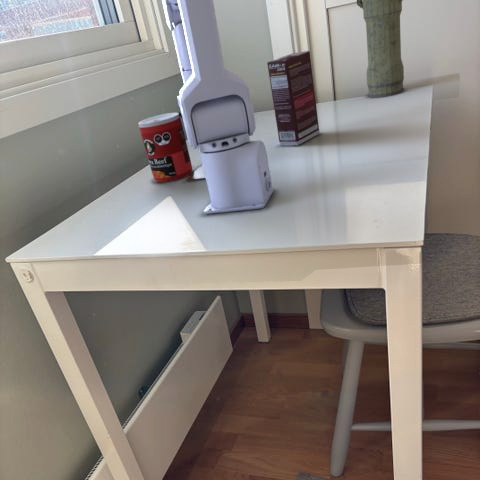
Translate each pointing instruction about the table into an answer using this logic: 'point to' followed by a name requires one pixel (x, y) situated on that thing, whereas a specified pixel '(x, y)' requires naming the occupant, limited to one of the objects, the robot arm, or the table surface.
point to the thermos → (383, 46)
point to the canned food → (166, 147)
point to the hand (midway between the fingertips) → (213, 146)
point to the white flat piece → (197, 174)
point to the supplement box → (294, 98)
